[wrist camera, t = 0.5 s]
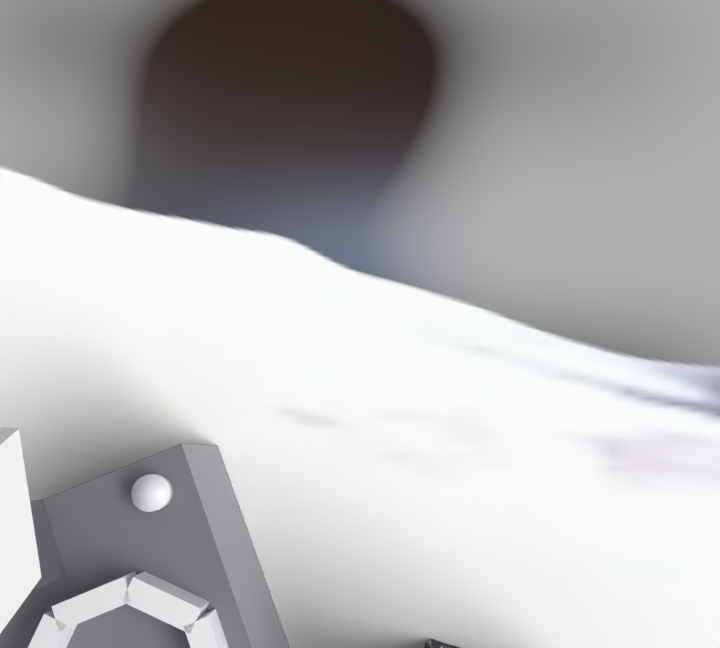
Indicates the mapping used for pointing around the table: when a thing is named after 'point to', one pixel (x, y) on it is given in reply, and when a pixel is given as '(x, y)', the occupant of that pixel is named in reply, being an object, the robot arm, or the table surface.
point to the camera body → (147, 563)
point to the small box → (437, 644)
